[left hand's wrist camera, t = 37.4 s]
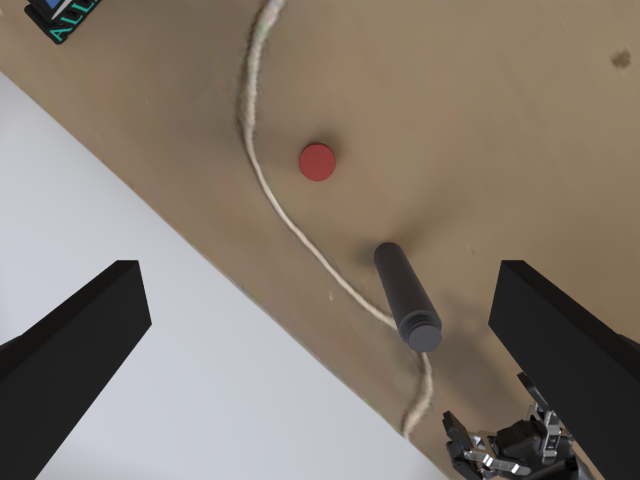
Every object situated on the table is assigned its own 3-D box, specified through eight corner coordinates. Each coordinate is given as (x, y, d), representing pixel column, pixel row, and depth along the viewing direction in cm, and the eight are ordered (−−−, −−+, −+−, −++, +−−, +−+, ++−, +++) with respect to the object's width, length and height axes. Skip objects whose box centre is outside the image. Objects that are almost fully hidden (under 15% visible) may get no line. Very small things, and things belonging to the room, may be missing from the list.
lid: (341, 159, 43) (342, 162, 41) (318, 185, 44) (318, 188, 43) (316, 135, 42) (316, 136, 40) (292, 161, 43) (291, 164, 41)
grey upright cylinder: (367, 254, 48) (393, 336, 31) (392, 237, 47) (432, 312, 30) (385, 274, 49) (418, 364, 32) (409, 258, 48) (456, 341, 31)
